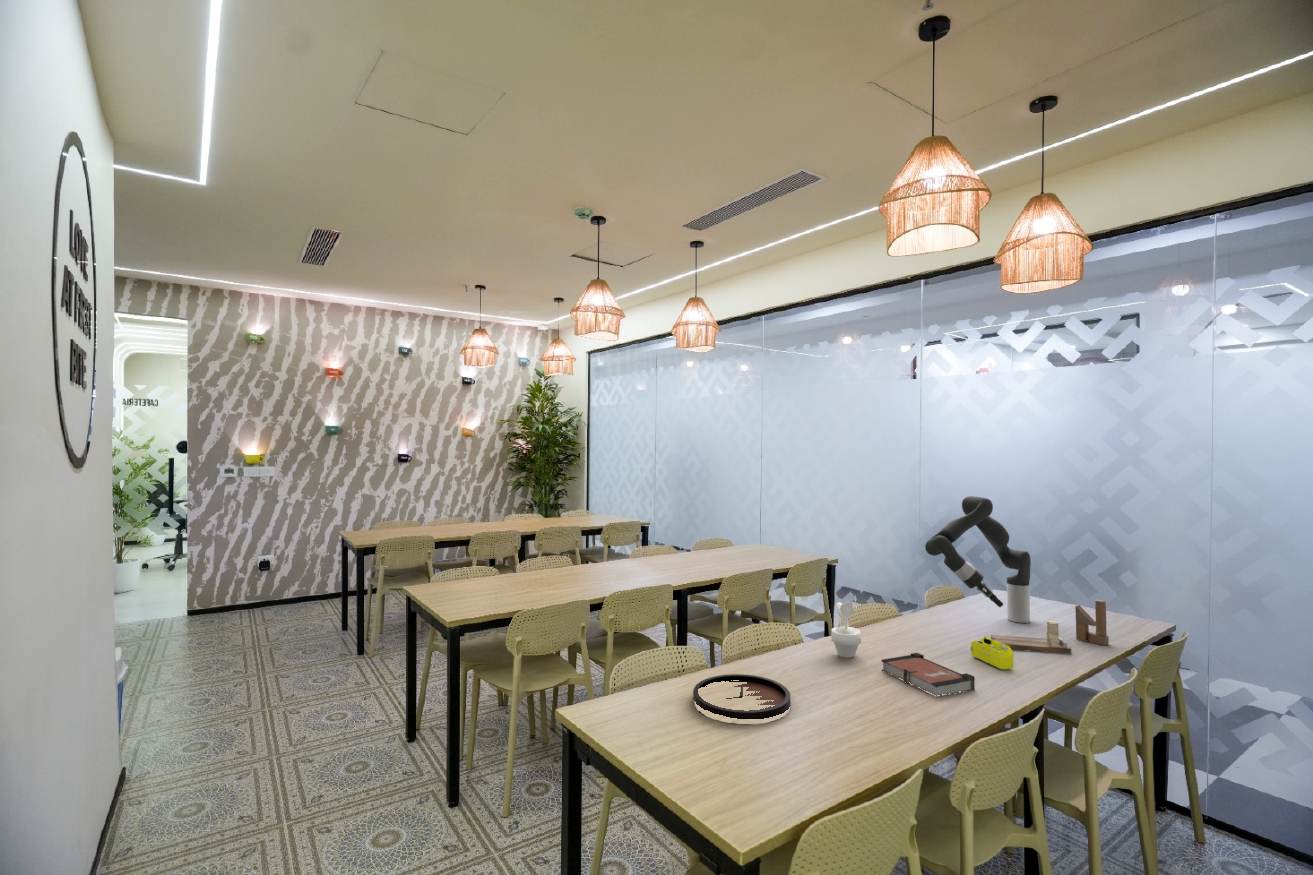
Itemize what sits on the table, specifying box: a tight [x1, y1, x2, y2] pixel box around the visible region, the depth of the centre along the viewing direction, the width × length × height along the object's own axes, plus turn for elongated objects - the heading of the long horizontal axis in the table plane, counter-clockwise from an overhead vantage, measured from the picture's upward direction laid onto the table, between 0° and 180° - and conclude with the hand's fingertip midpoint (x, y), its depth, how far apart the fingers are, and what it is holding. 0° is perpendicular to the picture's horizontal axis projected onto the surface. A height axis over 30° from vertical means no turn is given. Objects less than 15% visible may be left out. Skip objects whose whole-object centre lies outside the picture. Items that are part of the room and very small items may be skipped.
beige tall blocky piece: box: [1046, 620, 1060, 647], centre depth 247 cm, size 7×3×9 cm, turn 165°
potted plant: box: [830, 594, 862, 659], centre depth 243 cm, size 13×12×25 cm
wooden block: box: [1074, 599, 1110, 646], centre depth 256 cm, size 4×11×18 cm, turn 33°
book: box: [881, 652, 976, 697], centre depth 216 cm, size 26×18×5 cm
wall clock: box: [692, 673, 792, 719], centre depth 198 cm, size 31×4×31 cm
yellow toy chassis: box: [970, 636, 1014, 670], centre depth 232 cm, size 16×6×8 cm, turn 12°
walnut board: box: [990, 634, 1072, 655], centre depth 251 cm, size 12×26×4 cm, turn 74°
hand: (998, 603), depth 252 cm, fingers open, 8 cm apart
